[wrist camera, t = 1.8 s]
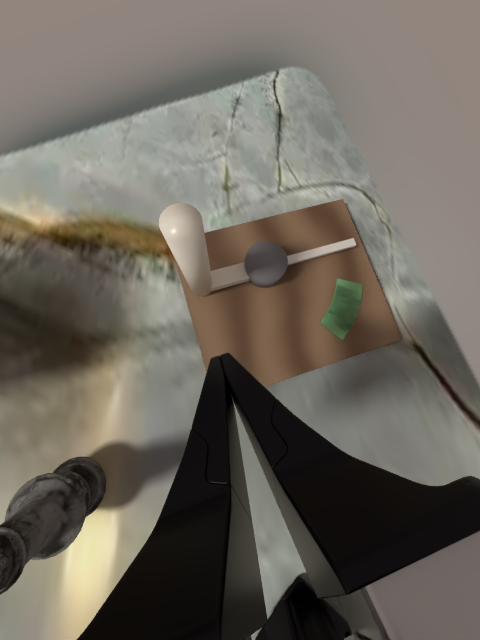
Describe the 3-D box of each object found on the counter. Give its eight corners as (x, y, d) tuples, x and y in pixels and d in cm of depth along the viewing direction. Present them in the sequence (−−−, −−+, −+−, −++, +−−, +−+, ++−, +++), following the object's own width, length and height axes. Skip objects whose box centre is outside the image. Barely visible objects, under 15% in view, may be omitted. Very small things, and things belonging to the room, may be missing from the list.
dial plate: (216, 401, 22) (215, 403, 21) (171, 246, 25) (169, 240, 24) (395, 339, 25) (404, 339, 24) (338, 204, 27) (343, 197, 26)
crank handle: (196, 308, 22) (169, 263, 12) (185, 269, 23) (150, 192, 12) (358, 261, 25) (463, 187, 14) (344, 227, 25) (434, 131, 14)
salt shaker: (77, 440, 21) (-118, 551, 9) (122, 480, 20) (-17, 649, 9) (29, 495, 20) (-263, 702, 8) (76, 538, 19) (-154, 820, 8)
